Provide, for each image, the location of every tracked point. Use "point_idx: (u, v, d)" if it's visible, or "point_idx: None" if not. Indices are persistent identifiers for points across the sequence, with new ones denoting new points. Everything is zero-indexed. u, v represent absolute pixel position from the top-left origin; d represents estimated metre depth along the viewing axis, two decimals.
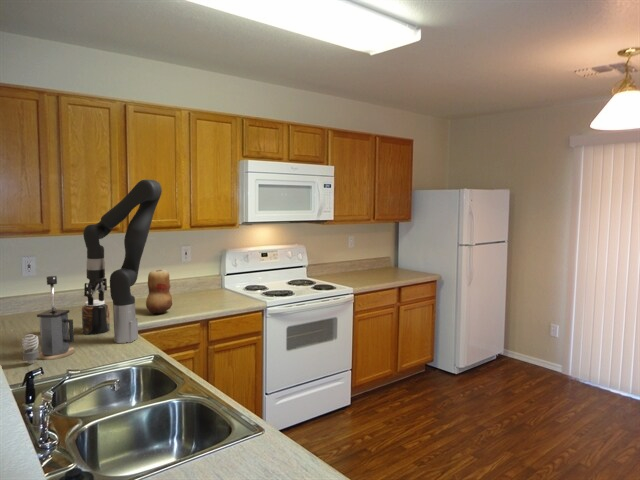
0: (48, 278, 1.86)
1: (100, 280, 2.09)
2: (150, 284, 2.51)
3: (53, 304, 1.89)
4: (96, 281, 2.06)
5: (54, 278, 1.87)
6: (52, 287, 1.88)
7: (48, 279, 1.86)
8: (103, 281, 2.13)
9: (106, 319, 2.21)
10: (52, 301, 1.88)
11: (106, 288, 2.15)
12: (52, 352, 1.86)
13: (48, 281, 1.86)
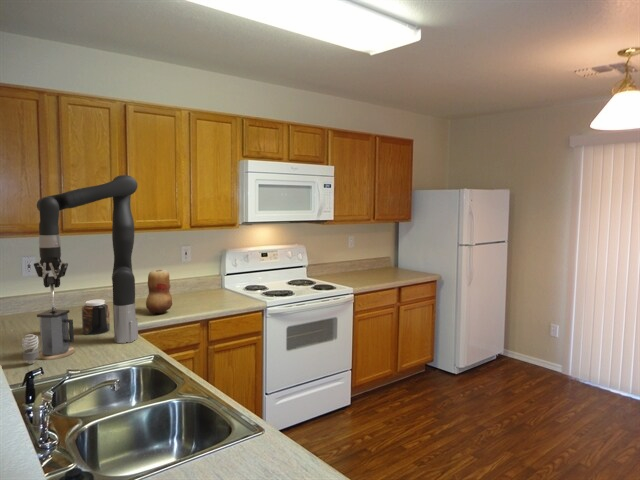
0: (48, 278, 1.86)
1: None
2: (150, 284, 2.51)
3: (53, 304, 1.89)
4: None
5: (54, 278, 1.87)
6: (52, 287, 1.88)
7: (48, 279, 1.86)
8: None
9: (106, 319, 2.21)
10: (52, 301, 1.88)
11: None
12: (52, 352, 1.86)
13: (48, 281, 1.86)
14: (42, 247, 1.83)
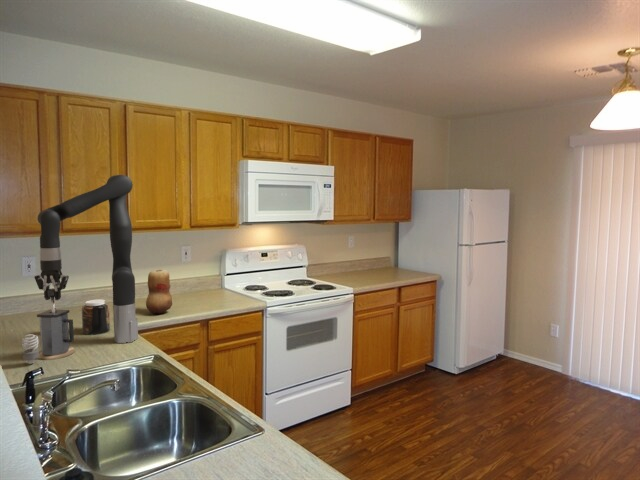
0: (49, 291, 1.87)
1: None
2: (150, 284, 2.51)
3: None
4: None
5: None
6: (53, 300, 1.88)
7: (49, 292, 1.87)
8: None
9: (106, 319, 2.21)
10: None
11: None
12: (52, 352, 1.86)
13: (49, 294, 1.87)
14: (43, 260, 1.84)
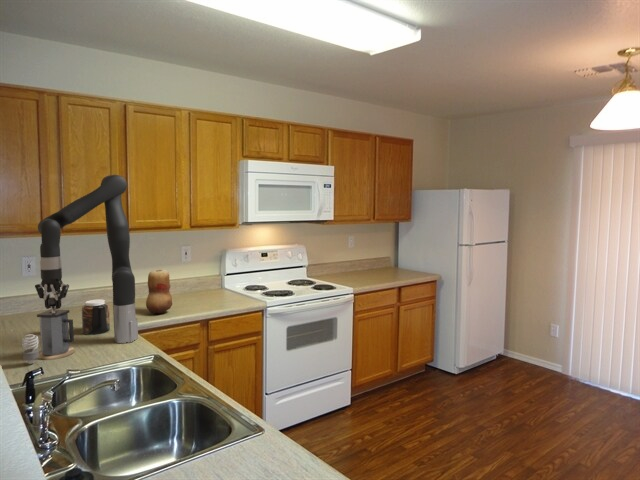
0: (49, 300, 1.87)
1: None
2: (150, 284, 2.51)
3: None
4: None
5: None
6: (53, 308, 1.89)
7: (49, 301, 1.87)
8: None
9: (106, 319, 2.21)
10: None
11: (43, 295, 1.90)
12: (52, 352, 1.86)
13: (49, 303, 1.87)
14: (43, 269, 1.84)
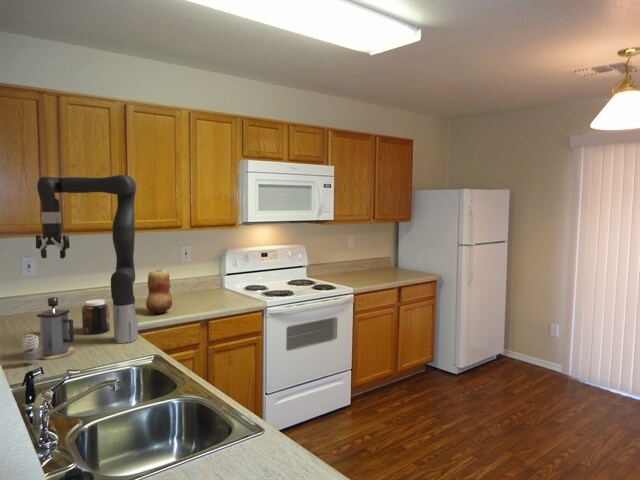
0: (49, 300, 1.87)
1: None
2: (150, 284, 2.51)
3: None
4: None
5: (55, 300, 1.88)
6: (53, 308, 1.89)
7: (49, 301, 1.87)
8: None
9: (106, 319, 2.21)
10: None
11: None
12: (52, 352, 1.86)
13: (49, 303, 1.87)
14: (44, 223, 1.99)
